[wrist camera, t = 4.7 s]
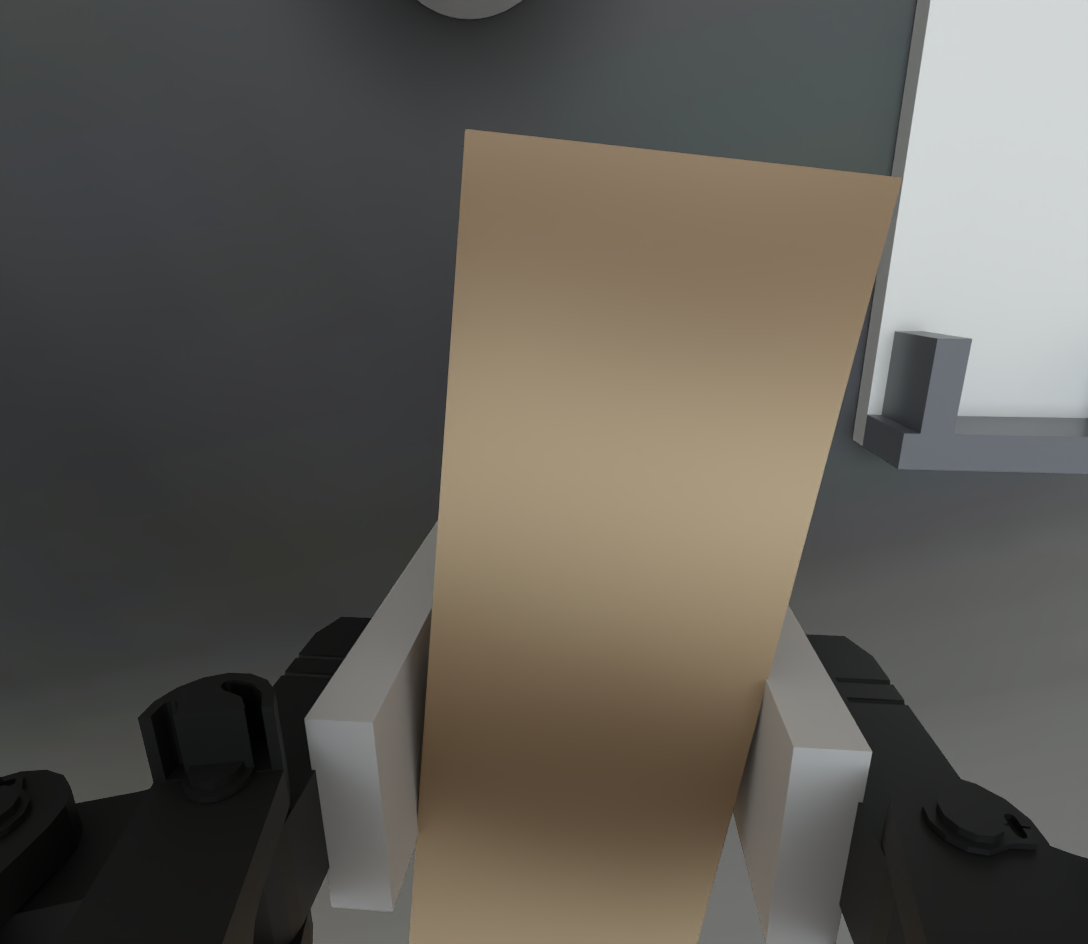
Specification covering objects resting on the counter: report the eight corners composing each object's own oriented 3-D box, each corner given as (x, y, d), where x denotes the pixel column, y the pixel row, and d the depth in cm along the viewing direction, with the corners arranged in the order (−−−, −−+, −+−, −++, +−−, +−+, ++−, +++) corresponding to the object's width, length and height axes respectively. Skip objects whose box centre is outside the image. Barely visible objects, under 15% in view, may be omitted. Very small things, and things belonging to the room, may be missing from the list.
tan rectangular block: (628, 823, 15) (644, 1139, 10) (472, 797, 16) (398, 1091, 10) (749, 230, 11) (901, 177, 6) (532, 205, 11) (465, 129, 6)
